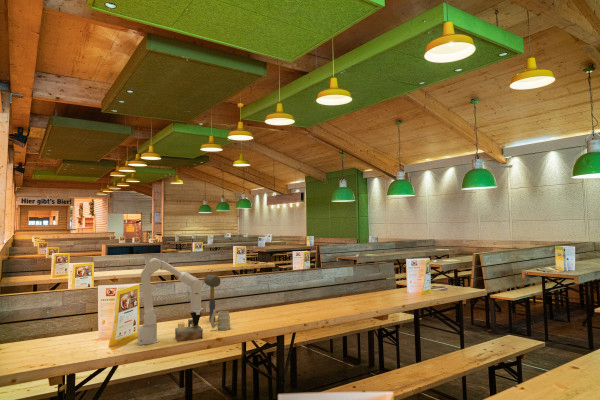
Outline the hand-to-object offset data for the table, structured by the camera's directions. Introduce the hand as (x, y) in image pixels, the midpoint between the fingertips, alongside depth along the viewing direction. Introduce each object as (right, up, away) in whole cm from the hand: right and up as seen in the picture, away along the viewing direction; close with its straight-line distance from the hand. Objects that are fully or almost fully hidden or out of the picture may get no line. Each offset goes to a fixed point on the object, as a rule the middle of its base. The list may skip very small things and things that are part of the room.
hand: (195, 325), depth 214 cm
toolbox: (-4, -6, -1) cm, 7 cm away
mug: (+11, -7, +14) cm, 19 cm away
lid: (-3, -2, -3) cm, 5 cm away
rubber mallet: (+1, -9, +34) cm, 35 cm away
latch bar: (-3, -1, +5) cm, 6 cm away
